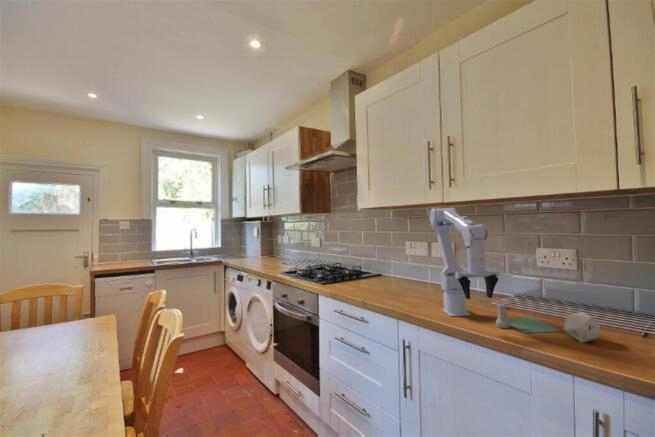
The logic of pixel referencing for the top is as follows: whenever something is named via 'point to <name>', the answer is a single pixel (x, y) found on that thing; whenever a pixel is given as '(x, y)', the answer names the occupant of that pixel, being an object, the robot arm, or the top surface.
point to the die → (582, 327)
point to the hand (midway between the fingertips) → (478, 297)
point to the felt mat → (531, 325)
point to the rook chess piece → (502, 316)
